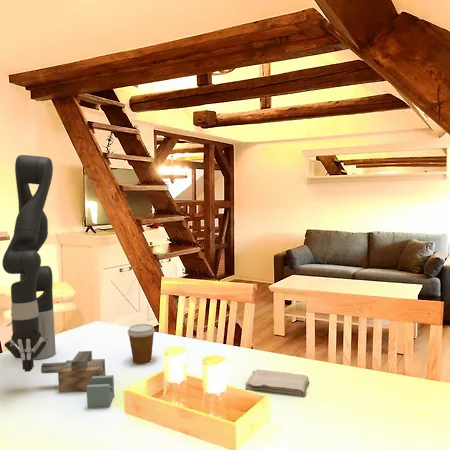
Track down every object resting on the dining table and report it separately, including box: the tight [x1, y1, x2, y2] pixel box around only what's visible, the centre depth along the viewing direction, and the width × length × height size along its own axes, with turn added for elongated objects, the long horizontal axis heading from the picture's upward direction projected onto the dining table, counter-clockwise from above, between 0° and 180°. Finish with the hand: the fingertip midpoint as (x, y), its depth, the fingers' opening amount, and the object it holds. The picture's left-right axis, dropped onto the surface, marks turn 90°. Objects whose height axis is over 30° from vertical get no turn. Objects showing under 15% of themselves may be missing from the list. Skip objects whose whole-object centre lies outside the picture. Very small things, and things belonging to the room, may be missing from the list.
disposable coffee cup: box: [127, 323, 156, 365], centre depth 158 cm, size 10×10×12 cm
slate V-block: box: [86, 374, 115, 409], centre depth 128 cm, size 6×7×6 cm
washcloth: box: [244, 369, 309, 397], centre depth 136 cm, size 12×18×3 cm, turn 72°
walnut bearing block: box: [57, 350, 106, 394], centre depth 138 cm, size 12×9×9 cm
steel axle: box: [40, 361, 103, 375], centre depth 138 cm, size 18×3×3 cm, turn 94°
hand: (28, 370), depth 137 cm, fingers closed
